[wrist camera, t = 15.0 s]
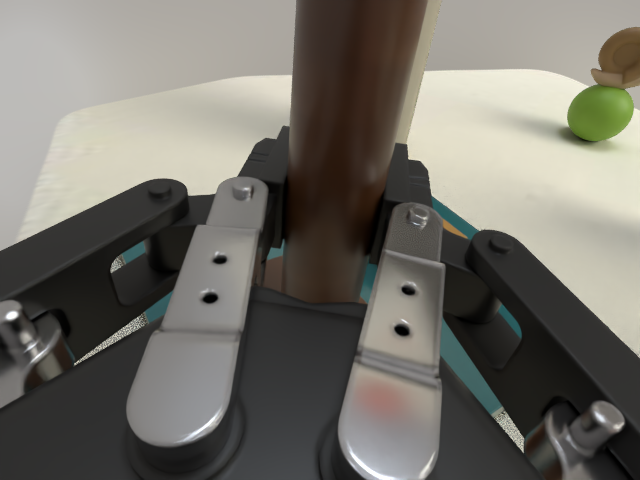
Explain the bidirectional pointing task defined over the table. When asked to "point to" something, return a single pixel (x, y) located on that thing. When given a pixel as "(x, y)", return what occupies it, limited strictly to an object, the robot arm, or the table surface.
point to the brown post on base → (341, 139)
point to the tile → (449, 343)
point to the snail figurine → (608, 89)
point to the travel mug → (418, 69)
